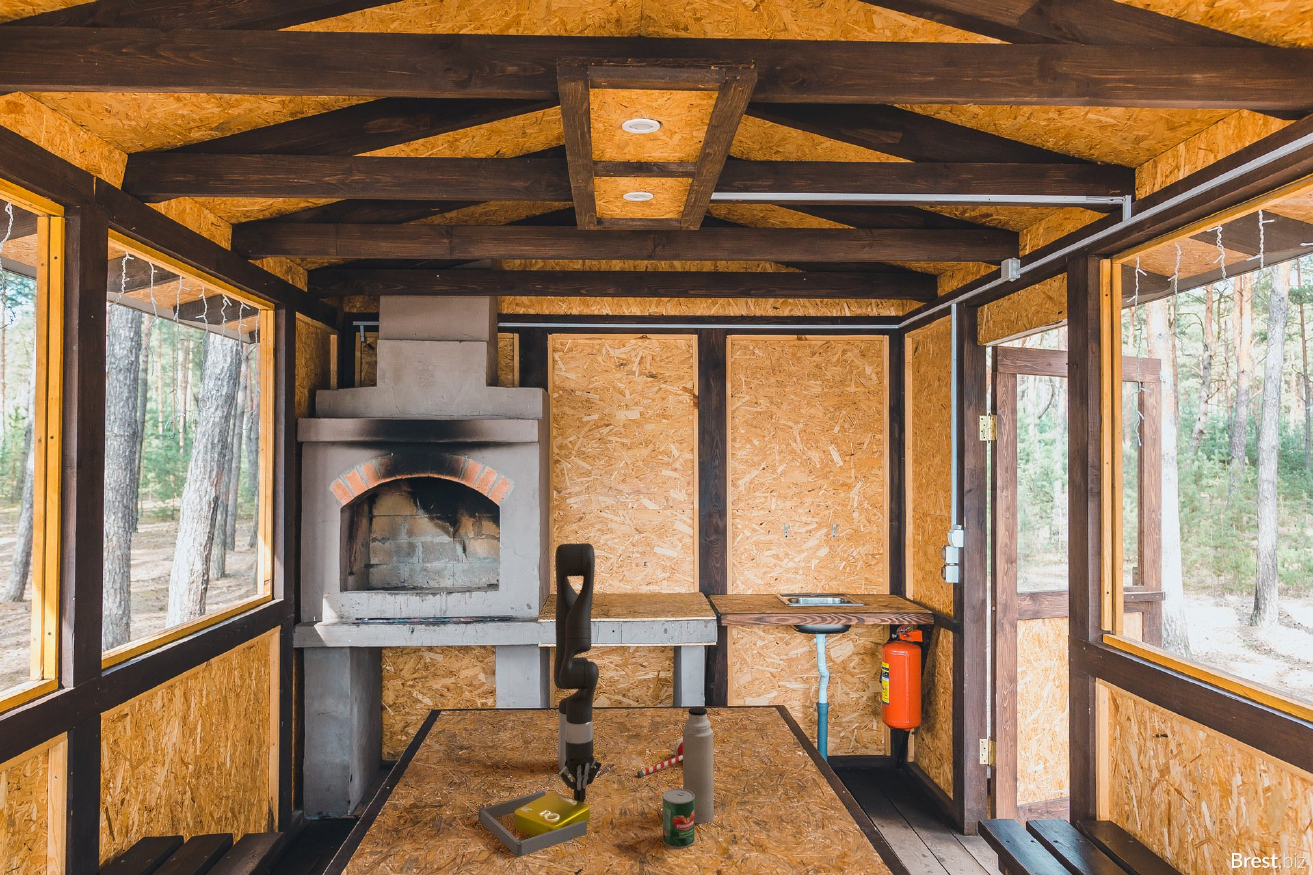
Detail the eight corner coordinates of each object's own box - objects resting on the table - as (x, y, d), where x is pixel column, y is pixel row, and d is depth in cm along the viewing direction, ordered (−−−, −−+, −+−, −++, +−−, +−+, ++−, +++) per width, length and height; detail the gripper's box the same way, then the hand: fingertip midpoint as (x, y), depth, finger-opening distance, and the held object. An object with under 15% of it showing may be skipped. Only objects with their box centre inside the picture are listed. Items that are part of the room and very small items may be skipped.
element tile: (593, 821, 199) (593, 803, 200) (553, 845, 187) (553, 825, 187) (551, 806, 208) (551, 789, 208) (510, 828, 196) (510, 809, 196)
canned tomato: (684, 851, 183) (684, 805, 184) (656, 843, 188) (656, 797, 188) (700, 837, 190) (700, 792, 190) (673, 829, 194) (673, 785, 195)
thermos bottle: (688, 807, 207) (687, 702, 208) (717, 811, 204) (716, 705, 205) (679, 820, 199) (678, 712, 200) (709, 825, 197) (708, 715, 197)
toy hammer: (649, 785, 222) (649, 763, 222) (628, 771, 232) (628, 750, 232) (711, 767, 235) (711, 746, 235) (689, 755, 244) (689, 735, 245)
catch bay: (478, 820, 200) (478, 809, 200) (543, 801, 211) (543, 790, 211) (517, 857, 181) (517, 844, 181) (586, 833, 192) (586, 821, 193)
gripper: (592, 727, 212) (593, 790, 212) (550, 738, 204) (551, 803, 204) (607, 735, 206) (608, 800, 206) (565, 746, 198) (565, 814, 198)
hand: (579, 801), depth 205 cm, fingers closed
